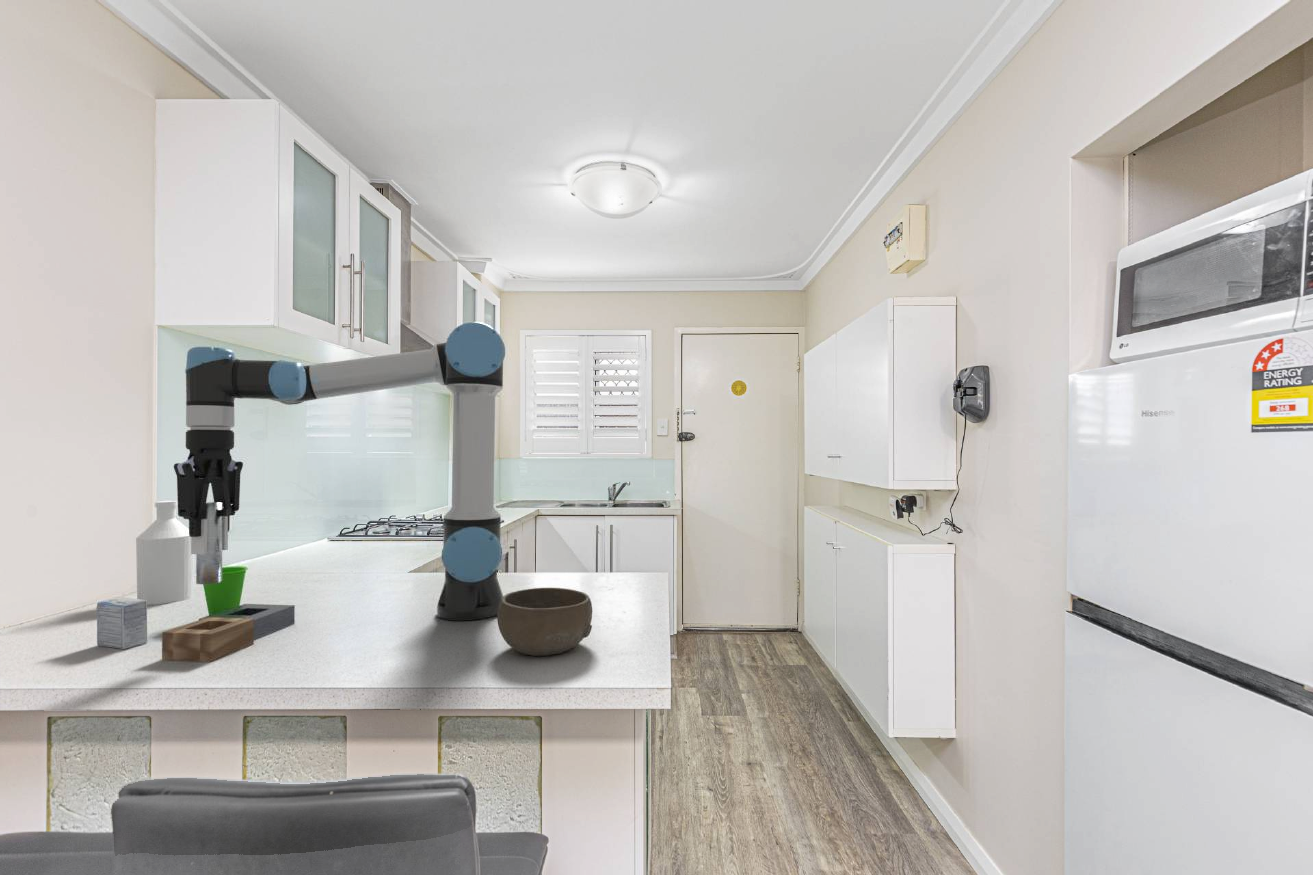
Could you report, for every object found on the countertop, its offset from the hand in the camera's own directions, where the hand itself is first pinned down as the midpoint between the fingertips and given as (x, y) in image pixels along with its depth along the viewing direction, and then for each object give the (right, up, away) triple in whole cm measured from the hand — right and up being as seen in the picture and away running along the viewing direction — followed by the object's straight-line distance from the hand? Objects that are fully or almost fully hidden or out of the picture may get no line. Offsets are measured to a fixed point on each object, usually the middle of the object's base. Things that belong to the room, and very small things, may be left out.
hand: (209, 551), depth 118 cm
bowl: (+64, -19, +1) cm, 67 cm away
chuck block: (-1, -19, +13) cm, 23 cm away
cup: (-13, -20, +23) cm, 33 cm away
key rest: (0, -19, 0) cm, 19 cm away
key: (0, -6, 0) cm, 6 cm away
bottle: (-41, -20, +41) cm, 61 cm away
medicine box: (-20, -19, +4) cm, 28 cm away
